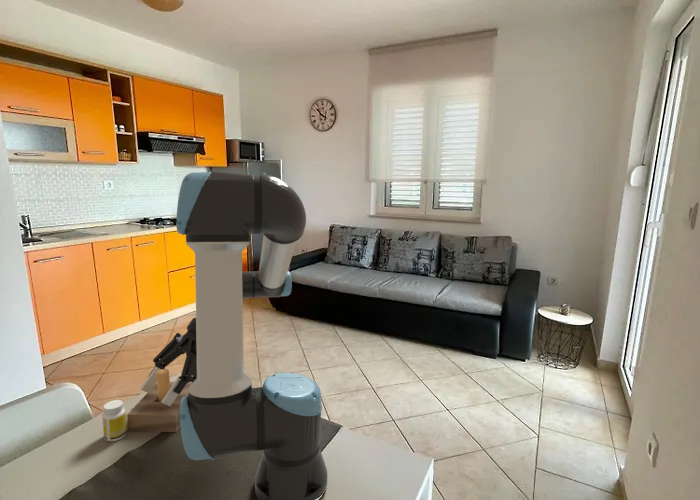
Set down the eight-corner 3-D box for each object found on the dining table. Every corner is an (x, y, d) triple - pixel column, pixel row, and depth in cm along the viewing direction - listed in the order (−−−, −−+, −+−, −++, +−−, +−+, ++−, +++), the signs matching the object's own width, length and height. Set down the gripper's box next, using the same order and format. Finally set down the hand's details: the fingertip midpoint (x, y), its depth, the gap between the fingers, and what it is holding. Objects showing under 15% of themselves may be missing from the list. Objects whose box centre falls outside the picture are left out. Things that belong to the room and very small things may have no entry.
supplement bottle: (131, 430, 96) (129, 399, 95) (118, 443, 92) (115, 410, 90) (113, 428, 97) (110, 398, 95) (99, 441, 92) (96, 409, 91)
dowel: (169, 415, 103) (165, 375, 100) (157, 415, 103) (154, 374, 100) (174, 409, 106) (170, 369, 103) (162, 409, 106) (159, 369, 103)
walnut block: (176, 431, 96) (175, 415, 96) (128, 430, 96) (127, 414, 95) (200, 397, 112) (199, 382, 111) (158, 395, 112) (158, 381, 111)
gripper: (238, 338, 107) (189, 417, 97) (191, 320, 120) (143, 388, 109) (222, 326, 102) (168, 407, 92) (174, 308, 114) (122, 378, 104)
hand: (154, 397), depth 101 cm, fingers open, 9 cm apart
